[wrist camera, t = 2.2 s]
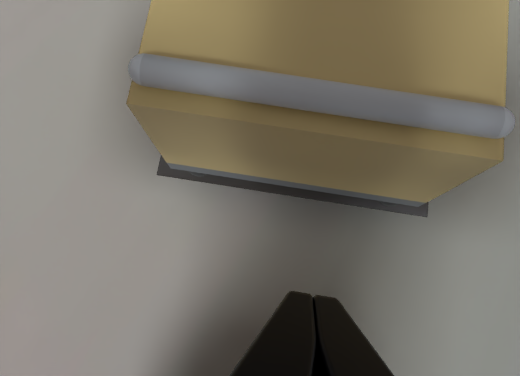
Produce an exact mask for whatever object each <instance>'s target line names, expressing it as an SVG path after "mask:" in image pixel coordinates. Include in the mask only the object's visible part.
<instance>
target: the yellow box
mask: <svg viewBox="0 0 520 376" xmlns="http://www.w3.org/2000/svg"><path fill="white" fill-rule="evenodd" d="M508 11H509V0H152V1H151V5H150V9H149V13H148V17H147V21H146V25H145V29H144V33H143V37H142V41H141V46H140V50H139V54H138V55H136V56H134V57H133V58H132V59H131V60H130V62H129V65H128V72H129V75H130V77H131V79H132V82H131V86H130V91H129V95H128V99H127V103H126V104H127V105H128V107H129V108H130V110H131V111H132V113H133V114H134V116H135V117H136V119H137V120H138V121H139V123H140V124H141V126H142V127H143V129H144V130H145V132H146V133H147V135H148V136H149V138H150V139H151V141H152V142H153V144H154V145H155V146H156V148H157V149H158V151H159V152H160V154H161V155H162V157H163V158H164V160H165V161H166V163H167V164H168V165H169V167H170V168H171V169H178V170H184V171H189V173H191V174H192V175H194V176H197V177H201V176H205V175H207V174H210V175H216V176H223V177H229V178H236V179H242V180H248V181H255V182H261V183H268V184H274V185H281V186H287V187H293V188H300V189H306V190H313V191H319V192H325V193H332V194H338V195H345V196H351V197H358V198H364V199H370V200H377V201H379V202H380V203H381V204H383V205H385V206H396V205H398V204H403V205H409V206H415V207H419V206H421V205H423V204H425V203H427V202H429V201H430V200H432V199H434V198H436V197H438V196H440V195H441V194H443V193H445V192H447V191H449V190H451V189H452V188H454V187H456V186H458V185H460V184H462V183H463V182H465V181H467V180H469V179H471V178H473V177H474V176H476V175H478V174H480V173H482V172H484V171H485V170H487V169H489V168H491V167H493V166H495V165H496V164H498V163H500V162H502V161H503V153H504V137H505V136H507V135H508V134H510V133H511V132H512V130H513V128H514V126H515V117H514V115H513V113H512V112H511V111H510V110H509V109H508V108H506V107H505V96H506V68H507V39H508Z"/></svg>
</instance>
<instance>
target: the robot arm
mask: <svg viewBox="0 0 520 376" xmlns="http://www.w3.org/2000/svg"><path fill="white" fill-rule="evenodd" d="M230 376H394V375H393V374H392V372H391V371H390V369H389V368H388V367H387V365H386V364H385V363H384V361H383V360H382V359H381V357H380V356H379V355H378V353H377V352H376V351H375V349H374V348H373V346H372V345H371V344H370V342H369V341H368V340H367V338H366V337H365V336H364V334H363V333H362V332H361V330H360V329H359V328H358V326H357V325H356V324H355V322H354V321H353V319H352V318H351V317H350V315H349V314H348V313H347V311H346V310H345V309H344V307H343V306H342V305H341V303H340V302H339V301H338V300H337V299H336V298H332V297H326V296H320V295H315V296H314V297H312V296H311V295H310V294H308V293H301V292H295V291H290V292H289V293H288V294H287V295H286V296H285V298H284V299H283V301H282V302H281V303H280V305H279V306H278V308H277V309H276V310H275V312H274V313H273V315H272V316H271V318H270V319H269V320H268V322H267V323H266V325H265V326H264V327H263V329H262V330H261V332H260V333H259V335H258V336H257V337H256V339H255V340H254V342H253V343H252V344H251V346H250V347H249V349H248V350H247V351H246V353H245V354H244V356H243V357H242V359H241V360H240V361H239V363H238V364H237V366H236V367H235V368H234V370H233V371H232V373H231V374H230Z"/></svg>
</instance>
